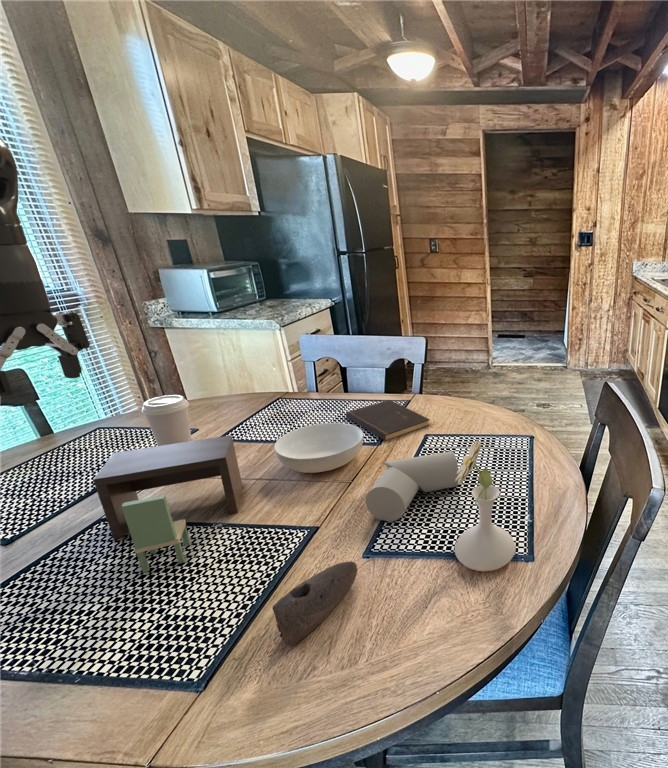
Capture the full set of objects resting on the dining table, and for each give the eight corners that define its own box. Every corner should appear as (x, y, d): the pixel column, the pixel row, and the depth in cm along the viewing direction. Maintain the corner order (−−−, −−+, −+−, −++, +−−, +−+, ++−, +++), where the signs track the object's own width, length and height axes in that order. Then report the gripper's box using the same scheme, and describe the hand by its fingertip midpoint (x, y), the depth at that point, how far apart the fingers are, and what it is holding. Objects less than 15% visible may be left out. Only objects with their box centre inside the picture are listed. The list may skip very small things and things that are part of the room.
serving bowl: (382, 453, 114) (380, 431, 111) (319, 493, 95) (315, 467, 93) (326, 437, 122) (323, 416, 119) (259, 471, 104) (254, 446, 101)
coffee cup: (145, 457, 108) (129, 404, 103) (182, 441, 116) (169, 391, 112) (172, 464, 105) (157, 409, 100) (208, 447, 114) (196, 396, 109)
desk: (238, 513, 88) (225, 457, 83) (114, 541, 79) (92, 479, 74) (242, 487, 97) (231, 434, 92) (132, 509, 88) (114, 452, 84)
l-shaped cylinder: (395, 465, 106) (356, 513, 87) (401, 429, 102) (363, 471, 83) (461, 485, 105) (437, 538, 86) (470, 449, 101) (447, 496, 83)
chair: (184, 565, 74) (165, 497, 69) (141, 576, 71) (118, 507, 67) (191, 542, 79) (174, 479, 74) (151, 552, 76) (131, 487, 72)
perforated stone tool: (347, 575, 73) (343, 542, 70) (369, 587, 70) (366, 554, 68) (265, 644, 60) (257, 607, 58) (288, 661, 58) (281, 623, 56)
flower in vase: (471, 528, 85) (471, 417, 77) (523, 543, 82) (529, 428, 73) (438, 572, 74) (434, 447, 66) (497, 592, 70) (500, 462, 62)
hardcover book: (390, 405, 146) (389, 399, 145) (430, 425, 131) (429, 419, 131) (346, 418, 135) (345, 412, 134) (385, 442, 120) (384, 434, 119)
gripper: (-50, 283, 51) (-1, 405, 57) (81, 275, 65) (111, 374, 70) (-96, 280, 53) (-44, 399, 58) (42, 273, 66) (74, 370, 71)
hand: (41, 385), depth 64 cm, fingers open, 8 cm apart
